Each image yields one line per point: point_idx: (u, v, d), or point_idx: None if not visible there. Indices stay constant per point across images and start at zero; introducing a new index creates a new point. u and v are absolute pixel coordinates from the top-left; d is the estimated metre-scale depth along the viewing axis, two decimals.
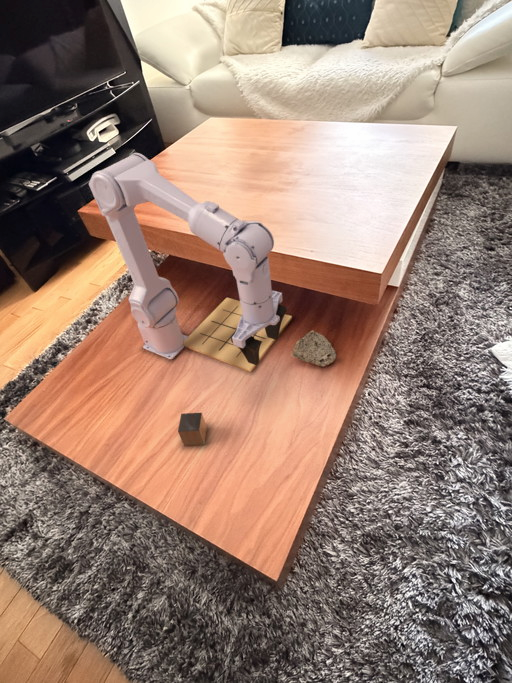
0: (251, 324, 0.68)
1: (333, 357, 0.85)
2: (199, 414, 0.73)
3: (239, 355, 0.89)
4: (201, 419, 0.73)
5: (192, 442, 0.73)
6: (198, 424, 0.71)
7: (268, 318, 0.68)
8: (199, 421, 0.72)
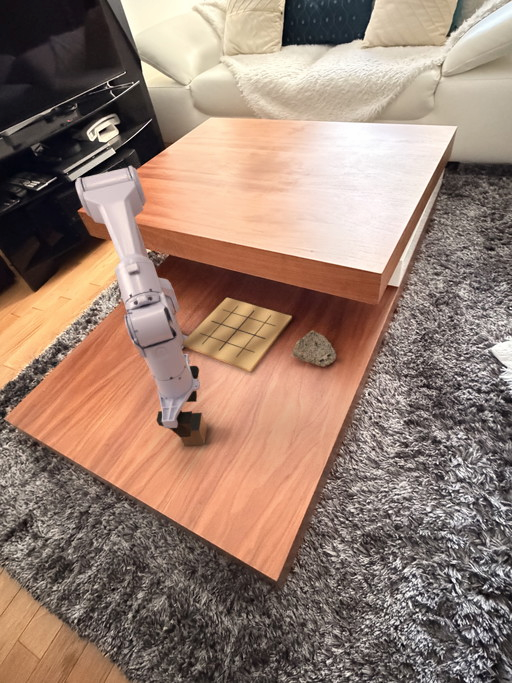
0: (174, 398, 0.63)
1: (333, 357, 0.85)
2: (199, 414, 0.73)
3: (239, 355, 0.89)
4: (201, 419, 0.73)
5: (192, 442, 0.73)
6: (198, 424, 0.71)
7: (189, 385, 0.63)
8: (199, 421, 0.72)
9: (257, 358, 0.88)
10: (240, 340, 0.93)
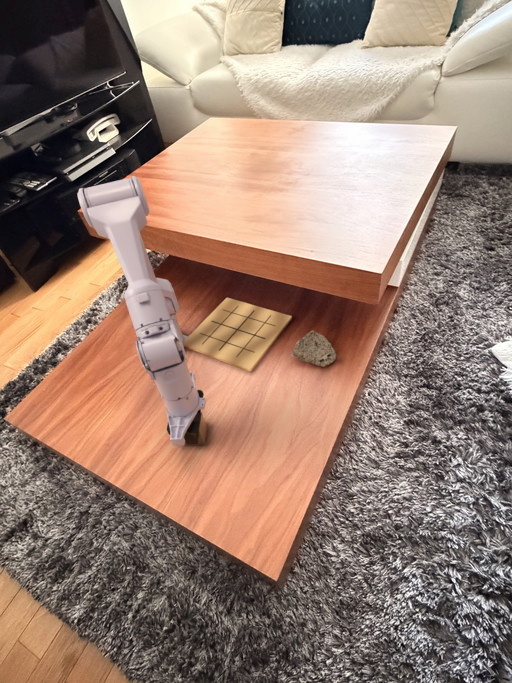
0: (182, 417, 0.66)
1: (333, 357, 0.85)
2: (199, 414, 0.73)
3: (239, 355, 0.89)
4: (201, 419, 0.73)
5: None
6: None
7: (196, 404, 0.67)
8: None
9: (257, 358, 0.88)
10: (240, 340, 0.93)
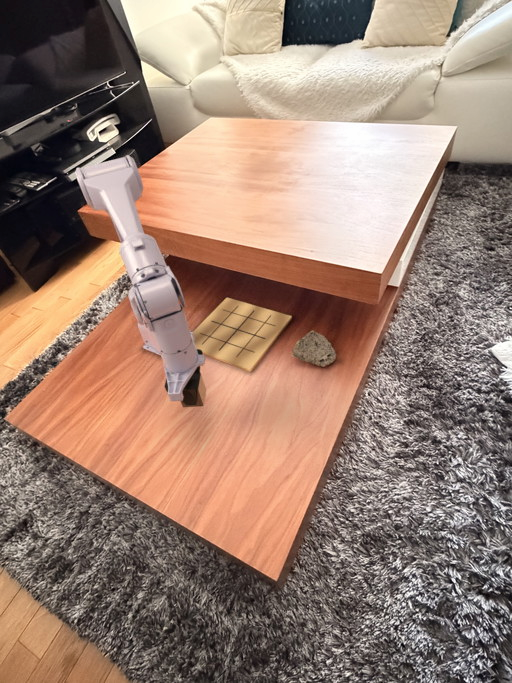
0: (180, 373, 0.64)
1: (333, 357, 0.85)
2: (198, 374, 0.71)
3: (239, 355, 0.89)
4: (200, 379, 0.71)
5: None
6: None
7: (195, 361, 0.65)
8: (198, 381, 0.70)
9: (257, 358, 0.88)
10: (240, 340, 0.93)
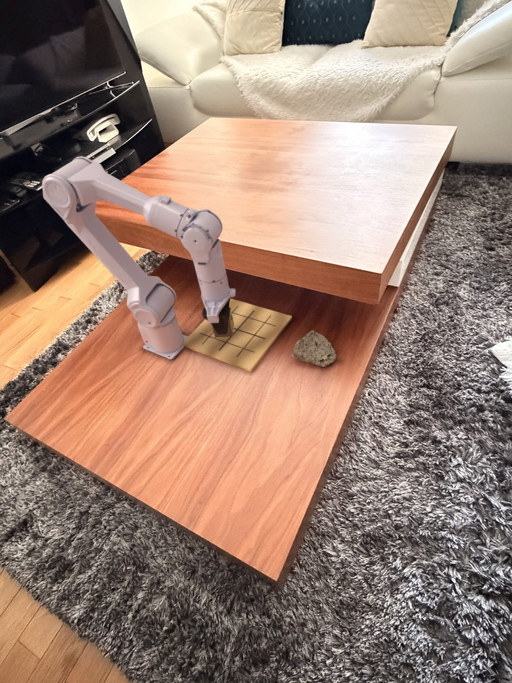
0: (216, 301, 0.77)
1: (333, 357, 0.85)
2: None
3: (239, 355, 0.89)
4: (230, 312, 0.84)
5: None
6: None
7: (228, 292, 0.78)
8: None
9: (257, 358, 0.88)
10: (240, 340, 0.93)
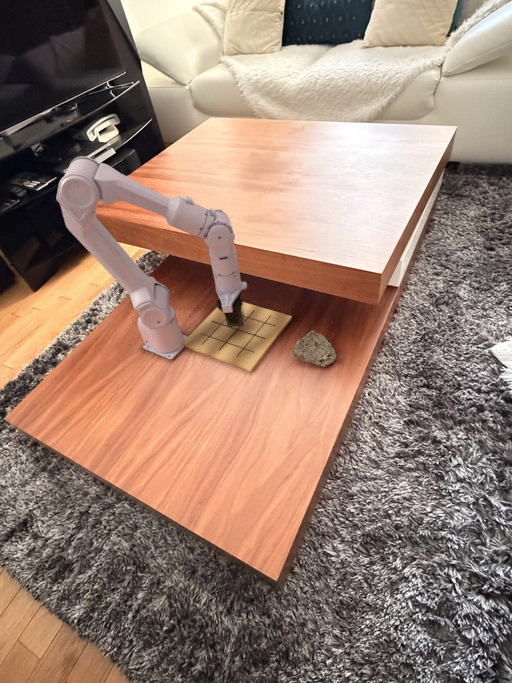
0: (229, 293, 0.84)
1: (333, 357, 0.85)
2: None
3: (239, 355, 0.89)
4: None
5: None
6: None
7: (240, 285, 0.85)
8: None
9: (257, 358, 0.88)
10: (240, 340, 0.93)
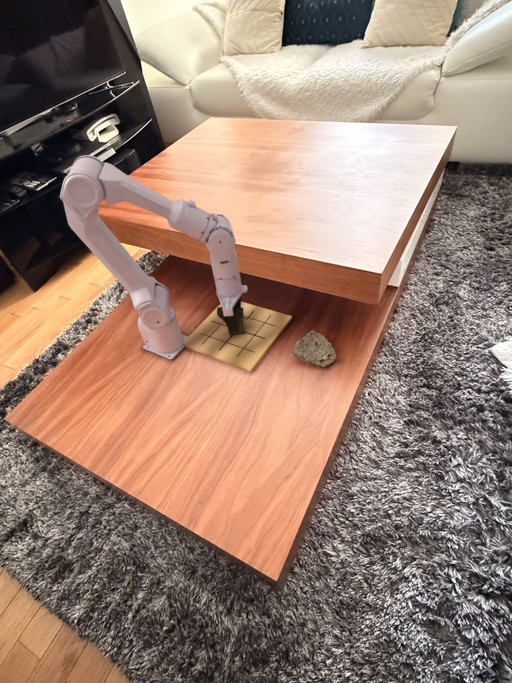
0: (230, 297, 0.85)
1: (333, 357, 0.85)
2: None
3: (239, 355, 0.89)
4: (243, 312, 0.93)
5: None
6: (241, 315, 0.92)
7: (240, 288, 0.86)
8: (242, 313, 0.92)
9: (257, 358, 0.88)
10: (240, 340, 0.93)
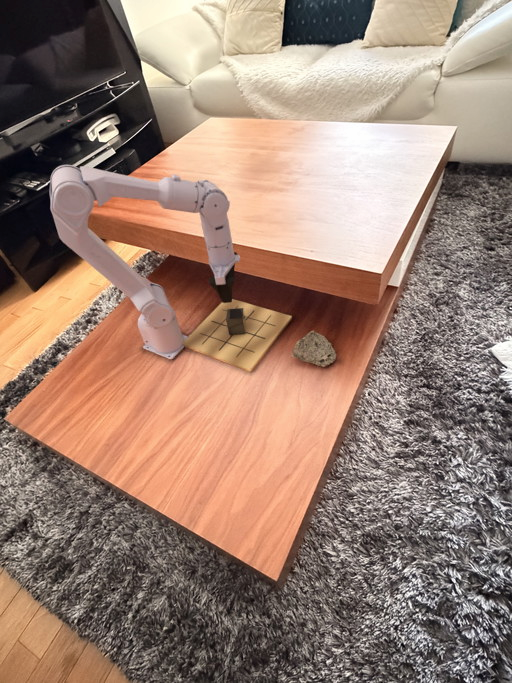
0: (222, 266, 0.84)
1: (333, 357, 0.85)
2: (241, 309, 0.93)
3: (239, 355, 0.89)
4: (243, 312, 0.93)
5: (236, 331, 0.93)
6: (241, 315, 0.92)
7: (233, 257, 0.85)
8: (242, 313, 0.92)
9: (257, 358, 0.88)
10: (240, 340, 0.93)
